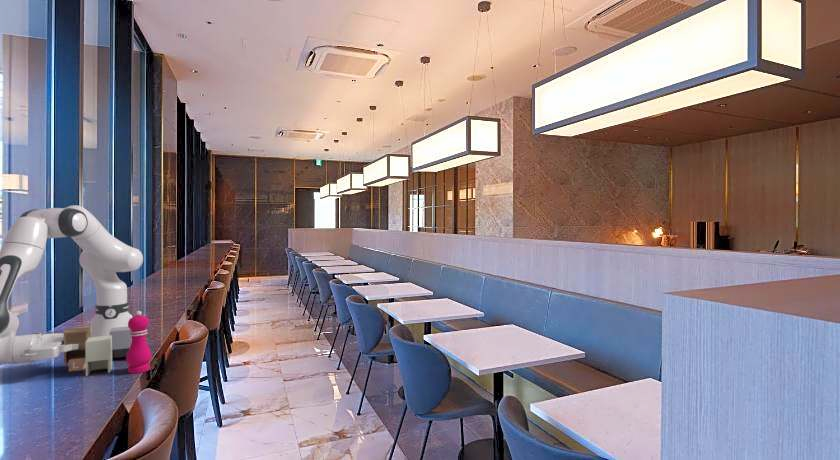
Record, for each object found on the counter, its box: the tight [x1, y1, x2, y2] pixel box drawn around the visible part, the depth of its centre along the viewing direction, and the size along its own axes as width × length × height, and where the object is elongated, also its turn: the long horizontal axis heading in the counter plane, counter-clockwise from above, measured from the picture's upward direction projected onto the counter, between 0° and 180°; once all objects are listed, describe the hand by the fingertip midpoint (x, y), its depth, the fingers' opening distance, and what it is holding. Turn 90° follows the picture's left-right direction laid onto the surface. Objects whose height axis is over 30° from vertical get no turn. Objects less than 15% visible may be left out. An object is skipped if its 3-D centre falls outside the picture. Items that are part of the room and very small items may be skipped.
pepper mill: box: [125, 310, 153, 375], centre depth 151 cm, size 7×7×20 cm
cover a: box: [63, 325, 91, 366], centre depth 153 cm, size 6×6×11 cm
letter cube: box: [68, 355, 86, 372], centre depth 152 cm, size 4×4×4 cm
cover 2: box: [109, 327, 132, 361], centre depth 163 cm, size 6×6×11 cm
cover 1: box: [85, 335, 113, 377], centre depth 150 cm, size 6×6×11 cm
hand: (81, 343), depth 153 cm, fingers closed on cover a, 6 cm apart
